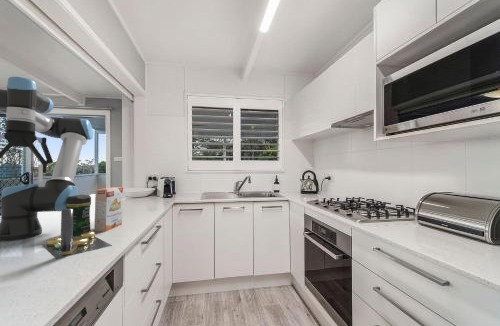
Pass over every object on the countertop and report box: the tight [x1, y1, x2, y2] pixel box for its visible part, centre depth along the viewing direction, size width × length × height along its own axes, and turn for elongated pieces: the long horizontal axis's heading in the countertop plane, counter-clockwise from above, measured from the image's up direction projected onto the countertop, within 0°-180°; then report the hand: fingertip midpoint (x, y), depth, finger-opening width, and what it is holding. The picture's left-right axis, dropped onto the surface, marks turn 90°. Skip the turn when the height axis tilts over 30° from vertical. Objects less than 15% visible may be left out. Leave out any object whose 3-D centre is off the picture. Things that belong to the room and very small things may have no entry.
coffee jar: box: [66, 194, 92, 237], centre depth 106 cm, size 10×8×19 cm
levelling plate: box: [41, 230, 113, 260], centre depth 90 cm, size 22×17×3 cm
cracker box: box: [93, 186, 124, 233], centre depth 117 cm, size 14×6×21 cm, turn 179°
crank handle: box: [60, 209, 89, 255], centre depth 87 cm, size 17×7×16 cm, turn 22°
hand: (19, 182), depth 83 cm, fingers open, 10 cm apart
